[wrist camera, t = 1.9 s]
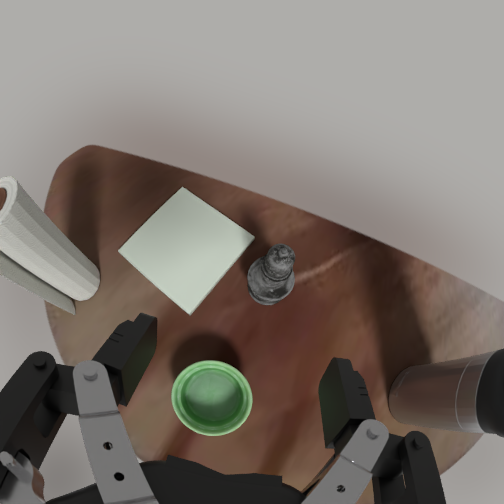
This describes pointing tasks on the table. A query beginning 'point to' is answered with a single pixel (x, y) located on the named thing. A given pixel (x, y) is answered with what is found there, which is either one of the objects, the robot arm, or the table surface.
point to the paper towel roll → (41, 252)
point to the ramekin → (211, 397)
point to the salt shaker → (272, 275)
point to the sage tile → (186, 248)
